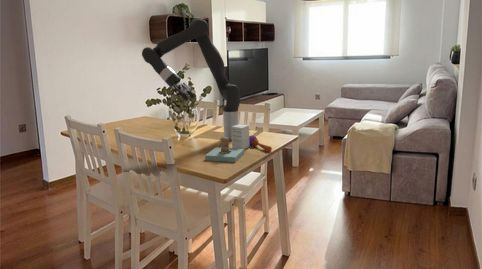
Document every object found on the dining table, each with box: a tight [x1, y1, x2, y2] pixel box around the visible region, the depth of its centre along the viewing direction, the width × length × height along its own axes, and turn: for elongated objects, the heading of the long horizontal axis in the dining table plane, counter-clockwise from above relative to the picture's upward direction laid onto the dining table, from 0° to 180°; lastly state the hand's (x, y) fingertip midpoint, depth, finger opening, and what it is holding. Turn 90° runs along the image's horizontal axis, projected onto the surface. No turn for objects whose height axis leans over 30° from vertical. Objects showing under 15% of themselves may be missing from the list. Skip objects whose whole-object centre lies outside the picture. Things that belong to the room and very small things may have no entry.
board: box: [204, 147, 245, 163], centre depth 201 cm, size 16×16×2 cm
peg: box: [220, 136, 230, 154], centre depth 201 cm, size 4×4×10 cm
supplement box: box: [231, 123, 250, 150], centre depth 217 cm, size 7×7×13 cm
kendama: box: [249, 135, 273, 153], centre depth 217 cm, size 6×6×20 cm
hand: (190, 98), depth 210 cm, fingers open, 8 cm apart
